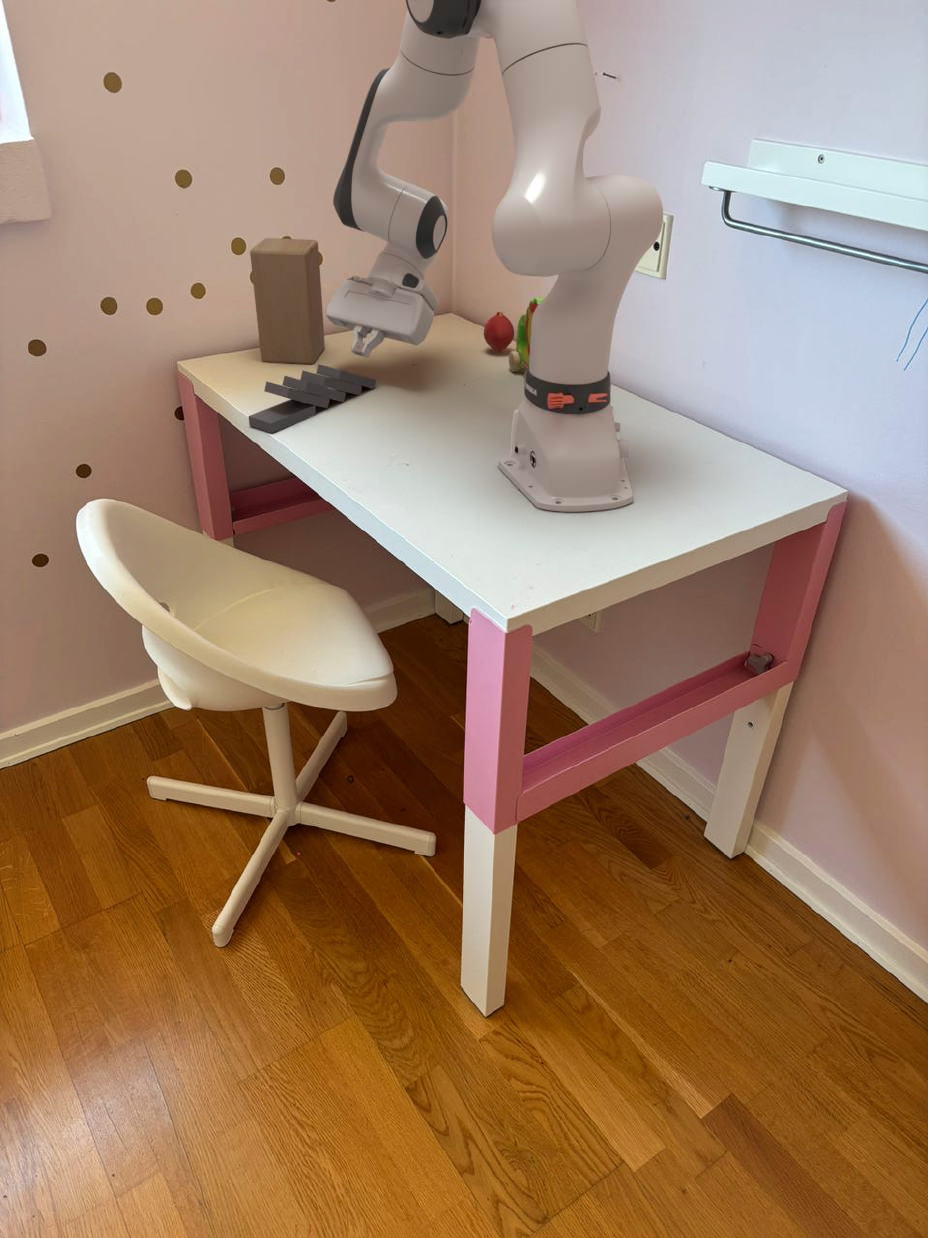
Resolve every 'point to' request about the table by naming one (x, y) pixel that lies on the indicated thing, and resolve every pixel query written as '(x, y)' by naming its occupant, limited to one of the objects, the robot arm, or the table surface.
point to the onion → (498, 332)
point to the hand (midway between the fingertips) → (359, 354)
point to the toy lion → (523, 339)
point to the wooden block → (288, 300)
